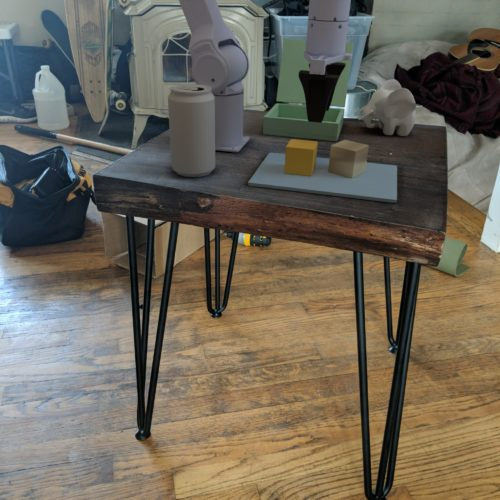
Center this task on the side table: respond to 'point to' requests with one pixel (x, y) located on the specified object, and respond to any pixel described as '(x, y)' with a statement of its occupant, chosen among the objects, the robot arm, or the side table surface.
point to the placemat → (329, 180)
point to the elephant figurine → (391, 109)
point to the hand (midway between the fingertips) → (318, 115)
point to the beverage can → (192, 129)
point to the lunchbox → (302, 123)
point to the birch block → (348, 158)
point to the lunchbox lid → (295, 62)
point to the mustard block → (300, 157)
